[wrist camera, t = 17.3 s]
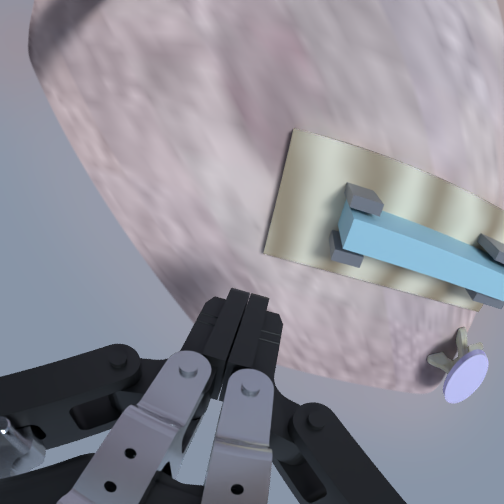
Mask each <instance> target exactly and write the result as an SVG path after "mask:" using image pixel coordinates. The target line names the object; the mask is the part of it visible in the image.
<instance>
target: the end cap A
mask: <svg viewBox="0 0 504 504" xmlns="http://www.w3.org/2000/svg"><path fill="white" fill-rule="evenodd" d="M344 194H345V197H346V199H347V202H348V204H349V207H351V208H354V209H357V210H360V211H364V212H367V213H370V214H373V215H376V216H379V217H380V215H381V212H382V210H383V207H384V204H383V202H382V201H381V200H380V198H379V197H378V196H377V194H376V193H375V192H374V191H373V190H370V189H367V188H364V187H361V186H358V185H355V184H352V183H349V182H347V184H346V188H345V191H344ZM329 246H330V256H331V260H332V261H336V262H339V263H343V264H347V265H350V266H354V267H357V268H360V266H361V263H362V261H363V259H364V256H363V255H362V254H359V253H355V252H352V251H349V250H345V249H343V247H342V242H341V237H340V233H339V232H338V231H335V230H332V231H331V234H330V237H329Z"/></svg>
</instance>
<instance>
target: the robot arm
mask: <svg viewBox="0 0 504 504" xmlns="http://www.w3.org/2000/svg"><path fill="white" fill-rule="evenodd" d="M249 295H250V293H249V292H245V291H242V290H238V289H235V288H231V290H230V292H229V294H228V297H227V299H222V298H219V297H213V298H212V299H210V300H209V301H208V302H206V303H205V305H204V307H203V309H202V311H201V313H200V314H199V316H198V318H197V321H196V322H195V324H194V326H193V328H192V330H191V332H190V334H189V335H188V337H187V339H186V341H185V343H184V345H183V347H182V349H181V350H180V351H179V352H177V353H174V354H173V355H171V356H170V357H169V358H168V359H165V360H151V359H142V358H140V357H139V355H138V353H137V352H136V351H135V350H134V349H133V348H131V347H130V346H128V345H124V344H112V345H109V346H106V347H103V348H99V349H96V350H93V351H90V352H87V353H83V354H80V355H77V356H73V357H70V358H67V359H63V360H60V361H57V362H53V363H50V364H46V365H43V366H39V367H36V368H32V369H28V370H25V371H21V372H17V373H14V374H10V375H6V376H2V377H0V504H267V503H268V494H269V485H270V476H271V466H272V462H273V464H274V465H275V467H276V469H277V470H278V472H279V473H280V475H281V476H282V478H283V479H284V481H285V482H286V484H287V485H288V487H289V488H290V490H291V491H292V493H293V494H294V496H295V497H296V499H297V500H298V502H299V503H300V504H407V503H406V502H405V501H404V500H403V499H402V498H401V496H400V495H399V494H398V493H397V492H396V490H395V489H394V488H393V487H392V486H391V484H390V483H389V482H388V481H387V480H386V478H385V477H384V476H383V475H382V473H381V472H380V471H379V470H378V468H377V467H376V466H375V465H374V463H373V462H372V461H371V460H370V458H369V457H368V456H367V455H366V454H365V453H364V451H363V450H362V448H361V447H360V446H359V445H358V443H357V442H356V441H355V440H354V439H353V437H352V436H351V435H350V433H349V432H348V431H347V429H346V428H345V427H344V426H343V424H342V423H341V422H340V420H339V419H338V418H337V416H336V415H335V414H334V413H333V412H332V410H331V409H329V408H328V407H326V406H325V405H322V404H319V403H306V404H303V405H301V406H300V405H299V404H296V403H295V402H293V401H291V400H289V399H287V398H286V397H284V396H283V395H282V394H281V393H280V392H279V391H278V389H277V388H276V386H275V382H274V373H275V368H276V362H277V357H278V351H279V344H280V339H281V334H282V328H283V323H282V321H281V318H280V315H279V314H276V313H273V312H269V311H266V310H267V306H268V302H269V298H267V297H264V296H260V295H256V294H253V293H251V295H250V298H249ZM248 299H249V301H248ZM247 303H248V304H247ZM222 384H223V385H222ZM221 387H222V390H221ZM220 390H221V394H220V398H219V401H223V404H222V408H221V412H220V416H219V420H218V424H217V428H216V433H215V437H214V441H213V446H212V450H211V454H210V459H209V463H208V468H207V471H206V476H205V480H204V484H203V486H202V485H190V484H183V483H180V482H178V481H176V480H175V479H176V477H177V475H178V473H179V470H180V467H181V465H182V461H183V459H184V456H185V454H186V452H187V450H188V448H189V445H190V444H191V442H192V439H193V437H194V435H195V433H196V431H197V429H198V427H199V425H200V423H201V420H202V418H203V416H204V413H205V412H206V410H207V407H208V405H209V402H210V399H211V398H212V399H216V400H217V399H218V396H219V393H220ZM109 429H111V431H110V432H109V434H108V435H107V437H106V438H105V440H104V441H103V443H102V444H101V446H100V447H99V449H98V450H97V452H96V453H89V454H84V455H80V456H77V457H74V458H72V459H69V460H66V461H63V462H60V463H57V464H54V465H51V466H48V467H44V468H41V469H38V470H34V471H30V470H31V469H33V468H34V467H37V466H39V465H40V464H42V463H43V462H44V458H45V454H46V451H45V450H46V449H50V448H54V447H58V446H60V445H64V444H68V443H70V442H74V441H77V440H80V439H83V438H86V437H89V436H92V435H95V434H98V433H101V432H103V431H106V430H109ZM29 471H30V472H29Z"/></svg>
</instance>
